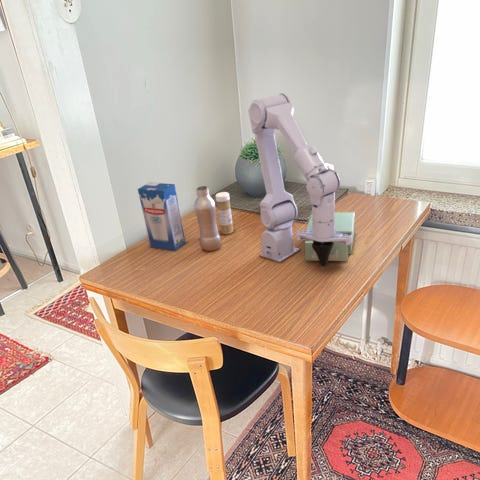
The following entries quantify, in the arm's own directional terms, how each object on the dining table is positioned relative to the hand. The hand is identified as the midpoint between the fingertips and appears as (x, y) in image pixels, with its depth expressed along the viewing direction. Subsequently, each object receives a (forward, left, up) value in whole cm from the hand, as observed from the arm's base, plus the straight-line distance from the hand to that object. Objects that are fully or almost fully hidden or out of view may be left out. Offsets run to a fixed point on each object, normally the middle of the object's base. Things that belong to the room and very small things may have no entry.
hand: (323, 265), depth 132 cm
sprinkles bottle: (+6, +45, -3) cm, 45 cm away
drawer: (+9, +5, -2) cm, 11 cm away
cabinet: (+17, +10, -3) cm, 20 cm away
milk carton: (-12, +55, -3) cm, 56 cm away
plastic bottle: (-6, +40, -3) cm, 40 cm away
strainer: (+42, +31, -3) cm, 52 cm away
